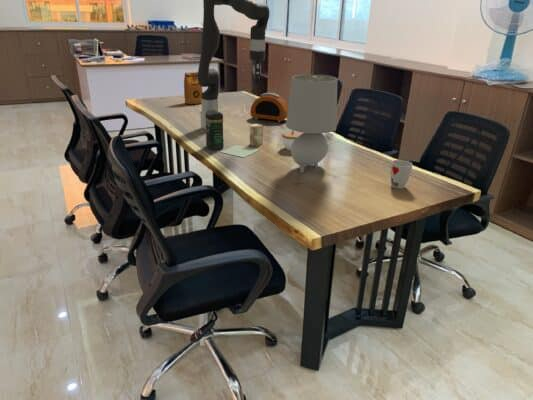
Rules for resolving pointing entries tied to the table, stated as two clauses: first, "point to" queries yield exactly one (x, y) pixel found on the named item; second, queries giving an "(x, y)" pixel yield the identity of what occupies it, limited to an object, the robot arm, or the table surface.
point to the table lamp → (311, 116)
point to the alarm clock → (269, 107)
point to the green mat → (239, 151)
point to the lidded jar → (289, 138)
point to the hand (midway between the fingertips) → (256, 84)
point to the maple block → (256, 134)
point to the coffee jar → (214, 129)
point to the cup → (400, 173)
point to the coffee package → (192, 89)
